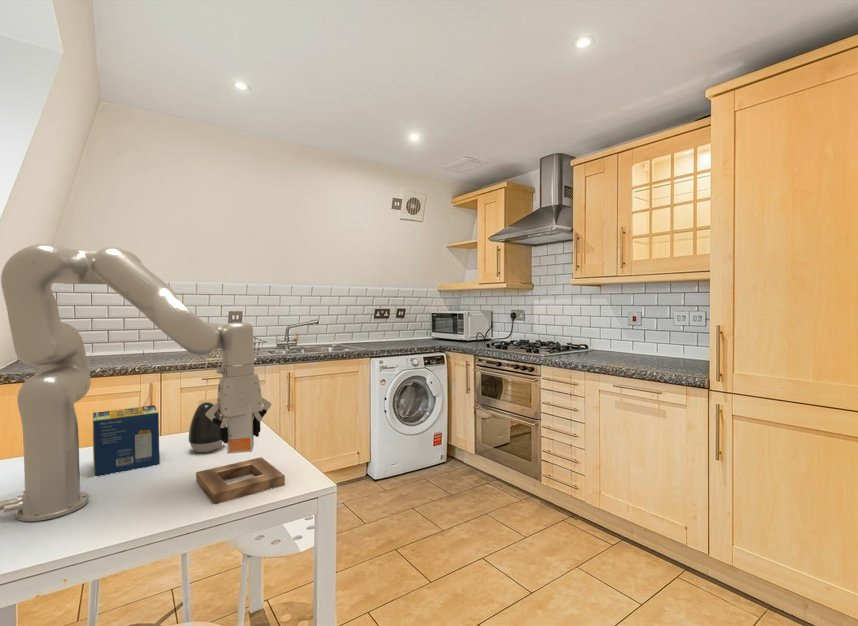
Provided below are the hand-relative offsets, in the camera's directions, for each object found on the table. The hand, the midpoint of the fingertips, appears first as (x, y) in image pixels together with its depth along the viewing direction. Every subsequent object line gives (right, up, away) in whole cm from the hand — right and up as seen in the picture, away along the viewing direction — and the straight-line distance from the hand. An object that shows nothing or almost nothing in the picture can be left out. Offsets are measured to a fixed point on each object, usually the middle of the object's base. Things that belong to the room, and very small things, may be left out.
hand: (240, 438), depth 114 cm
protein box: (-38, -12, +13) cm, 42 cm away
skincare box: (0, -3, 0) cm, 3 cm away
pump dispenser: (-21, -11, +26) cm, 35 cm away
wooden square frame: (0, -12, 0) cm, 12 cm away
